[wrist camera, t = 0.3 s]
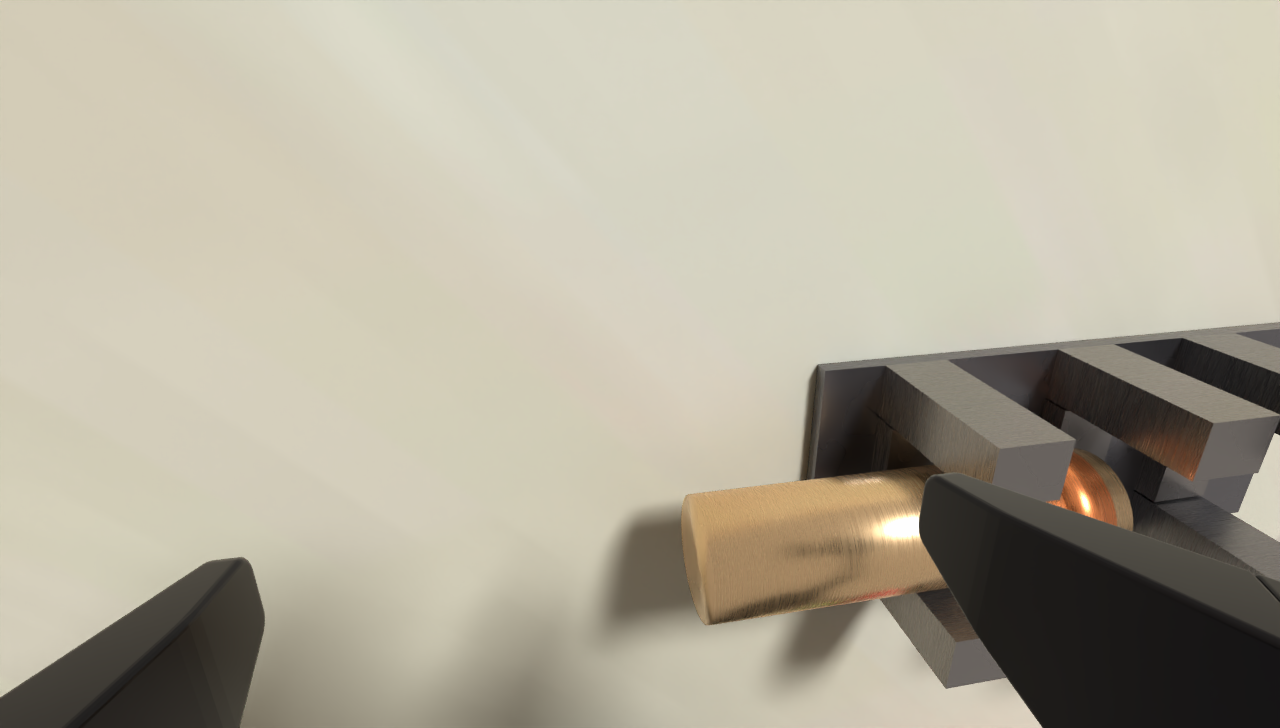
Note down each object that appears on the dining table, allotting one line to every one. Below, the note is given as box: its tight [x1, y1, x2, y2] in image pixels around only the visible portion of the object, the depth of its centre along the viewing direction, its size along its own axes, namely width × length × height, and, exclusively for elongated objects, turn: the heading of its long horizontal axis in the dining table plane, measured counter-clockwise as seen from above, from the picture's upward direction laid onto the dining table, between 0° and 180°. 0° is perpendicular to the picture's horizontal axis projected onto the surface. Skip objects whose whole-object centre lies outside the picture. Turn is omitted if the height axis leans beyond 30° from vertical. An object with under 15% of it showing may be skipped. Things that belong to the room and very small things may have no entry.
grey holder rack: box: [807, 322, 1280, 689], centre depth 23 cm, size 9×21×9 cm, turn 91°
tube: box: [681, 448, 1133, 625], centre depth 22 cm, size 4×14×4 cm, turn 91°
